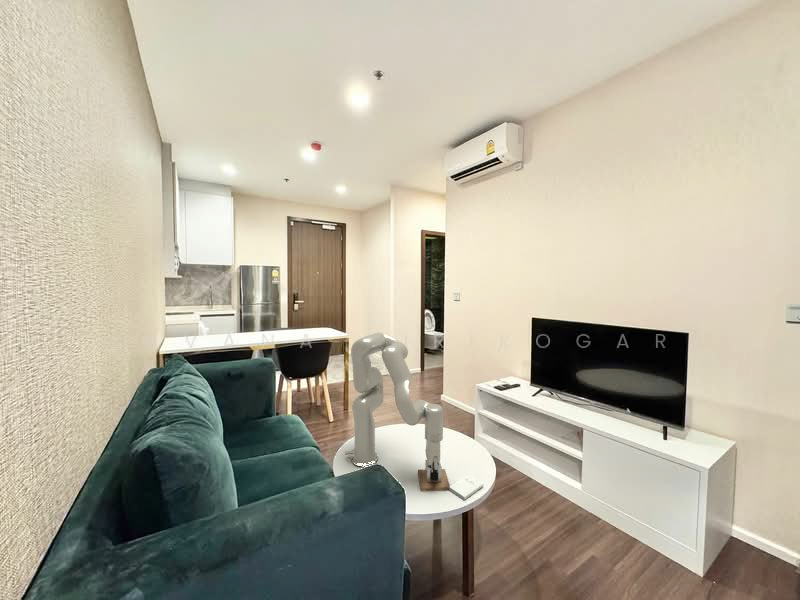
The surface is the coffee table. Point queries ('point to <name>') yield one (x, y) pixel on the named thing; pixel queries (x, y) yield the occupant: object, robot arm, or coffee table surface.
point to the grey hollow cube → (428, 472)
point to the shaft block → (433, 486)
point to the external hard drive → (465, 487)
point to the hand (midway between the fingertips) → (433, 474)
